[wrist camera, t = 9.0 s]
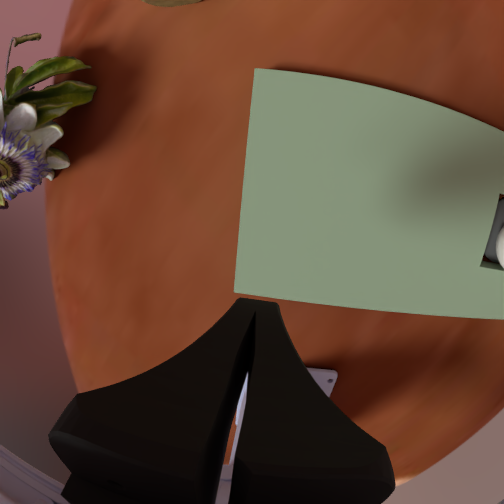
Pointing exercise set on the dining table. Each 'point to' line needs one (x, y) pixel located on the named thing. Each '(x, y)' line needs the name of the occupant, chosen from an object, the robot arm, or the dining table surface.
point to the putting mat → (369, 200)
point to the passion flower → (35, 121)
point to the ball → (500, 247)
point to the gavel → (170, 2)
